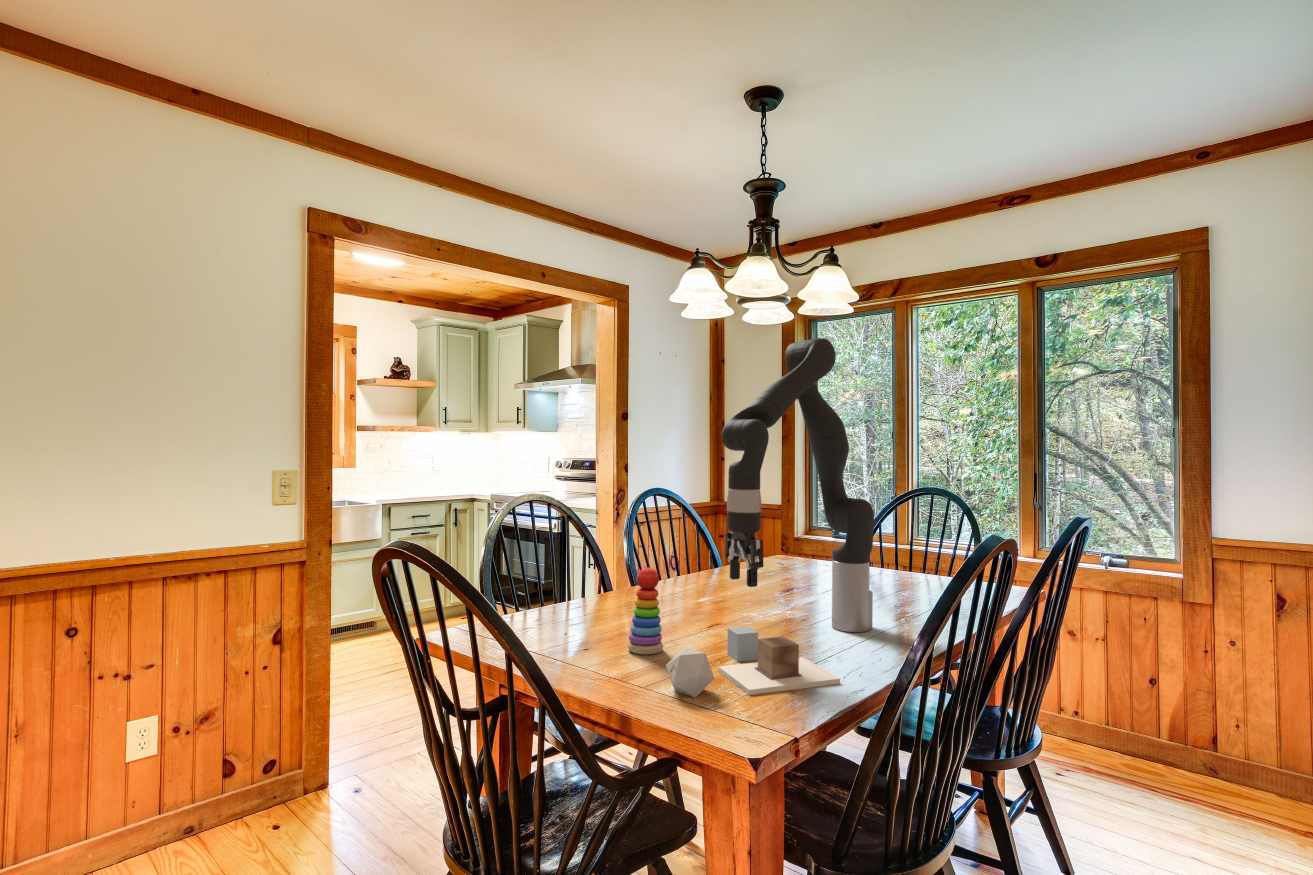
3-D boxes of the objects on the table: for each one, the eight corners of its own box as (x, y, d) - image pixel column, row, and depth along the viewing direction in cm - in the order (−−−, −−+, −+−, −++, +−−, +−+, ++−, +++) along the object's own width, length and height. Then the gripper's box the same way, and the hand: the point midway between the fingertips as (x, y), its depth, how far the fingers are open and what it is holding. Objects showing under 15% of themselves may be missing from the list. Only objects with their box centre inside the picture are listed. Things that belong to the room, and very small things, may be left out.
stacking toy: (650, 658, 151) (651, 572, 151) (621, 651, 156) (621, 568, 156) (669, 648, 158) (670, 567, 158) (640, 643, 162) (641, 563, 162)
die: (673, 684, 137) (654, 652, 133) (711, 662, 138) (693, 630, 133) (686, 714, 130) (666, 681, 125) (726, 691, 130) (707, 657, 126)
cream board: (802, 661, 150) (802, 656, 150) (840, 683, 137) (840, 677, 137) (718, 671, 143) (718, 665, 143) (749, 695, 130) (749, 688, 130)
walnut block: (783, 665, 144) (783, 636, 144) (798, 674, 138) (798, 644, 138) (757, 668, 142) (757, 638, 142) (771, 677, 136) (772, 647, 136)
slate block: (747, 652, 156) (747, 626, 156) (757, 659, 151) (758, 632, 151) (727, 654, 154) (727, 628, 154) (737, 661, 150) (737, 634, 150)
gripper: (774, 512, 147) (773, 588, 147) (744, 506, 161) (743, 575, 161) (743, 513, 145) (742, 590, 145) (715, 506, 158) (714, 577, 158)
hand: (743, 582), depth 153 cm, fingers open, 8 cm apart
